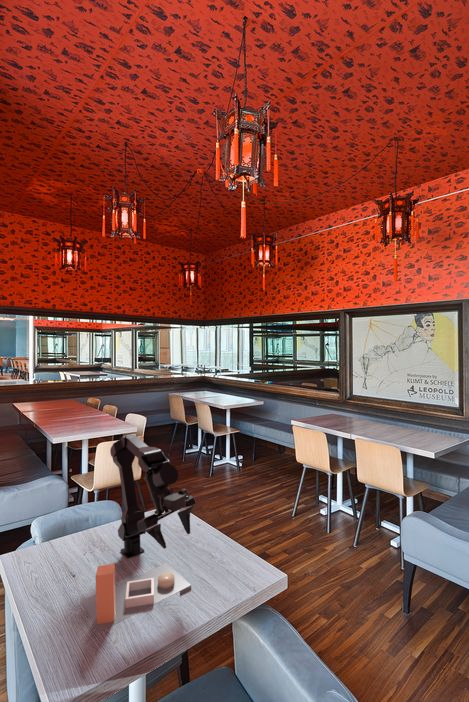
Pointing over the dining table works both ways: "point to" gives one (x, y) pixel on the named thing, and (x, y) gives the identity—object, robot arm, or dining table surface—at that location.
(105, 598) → the orange square prism
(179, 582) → the board
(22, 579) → the dining table surface
